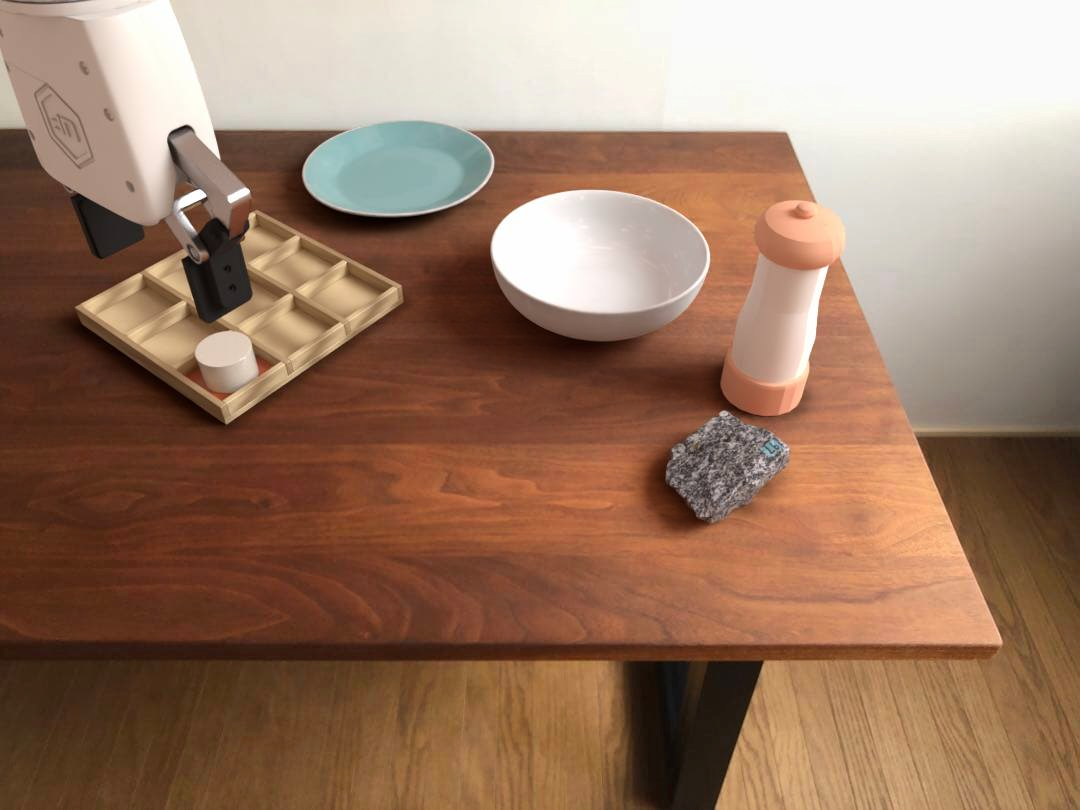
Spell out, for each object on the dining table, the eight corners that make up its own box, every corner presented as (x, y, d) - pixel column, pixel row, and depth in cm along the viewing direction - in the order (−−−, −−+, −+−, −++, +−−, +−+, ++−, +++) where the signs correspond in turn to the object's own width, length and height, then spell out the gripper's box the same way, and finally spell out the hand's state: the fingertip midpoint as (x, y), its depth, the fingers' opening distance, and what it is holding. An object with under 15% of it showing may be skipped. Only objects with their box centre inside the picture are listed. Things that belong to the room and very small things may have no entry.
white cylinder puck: (227, 401, 78) (218, 374, 76) (192, 378, 80) (183, 351, 78) (270, 372, 81) (262, 345, 78) (236, 350, 83) (227, 323, 80)
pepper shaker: (795, 363, 83) (847, 181, 70) (807, 418, 78) (865, 233, 65) (717, 359, 84) (754, 177, 70) (723, 414, 79) (764, 229, 65)
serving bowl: (731, 355, 84) (743, 297, 79) (512, 385, 81) (512, 326, 76) (664, 233, 99) (671, 178, 94) (476, 254, 95) (474, 198, 91)
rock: (638, 481, 73) (642, 446, 70) (725, 427, 77) (733, 392, 74) (704, 541, 69) (712, 506, 66) (792, 481, 73) (804, 446, 70)
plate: (266, 188, 104) (261, 166, 102) (405, 121, 117) (403, 100, 115) (395, 262, 94) (393, 239, 92) (533, 180, 106) (533, 158, 104)
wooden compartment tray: (226, 425, 77) (220, 407, 75) (81, 324, 86) (74, 307, 85) (403, 302, 89) (401, 285, 88) (260, 225, 99) (256, 209, 97)
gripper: (-118, -67, 40) (25, 253, 52) (107, 23, 33) (215, 373, 45) (37, -101, 45) (137, 201, 57) (266, -28, 37) (327, 303, 49)
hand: (171, 277), depth 51 cm, fingers open, 9 cm apart
